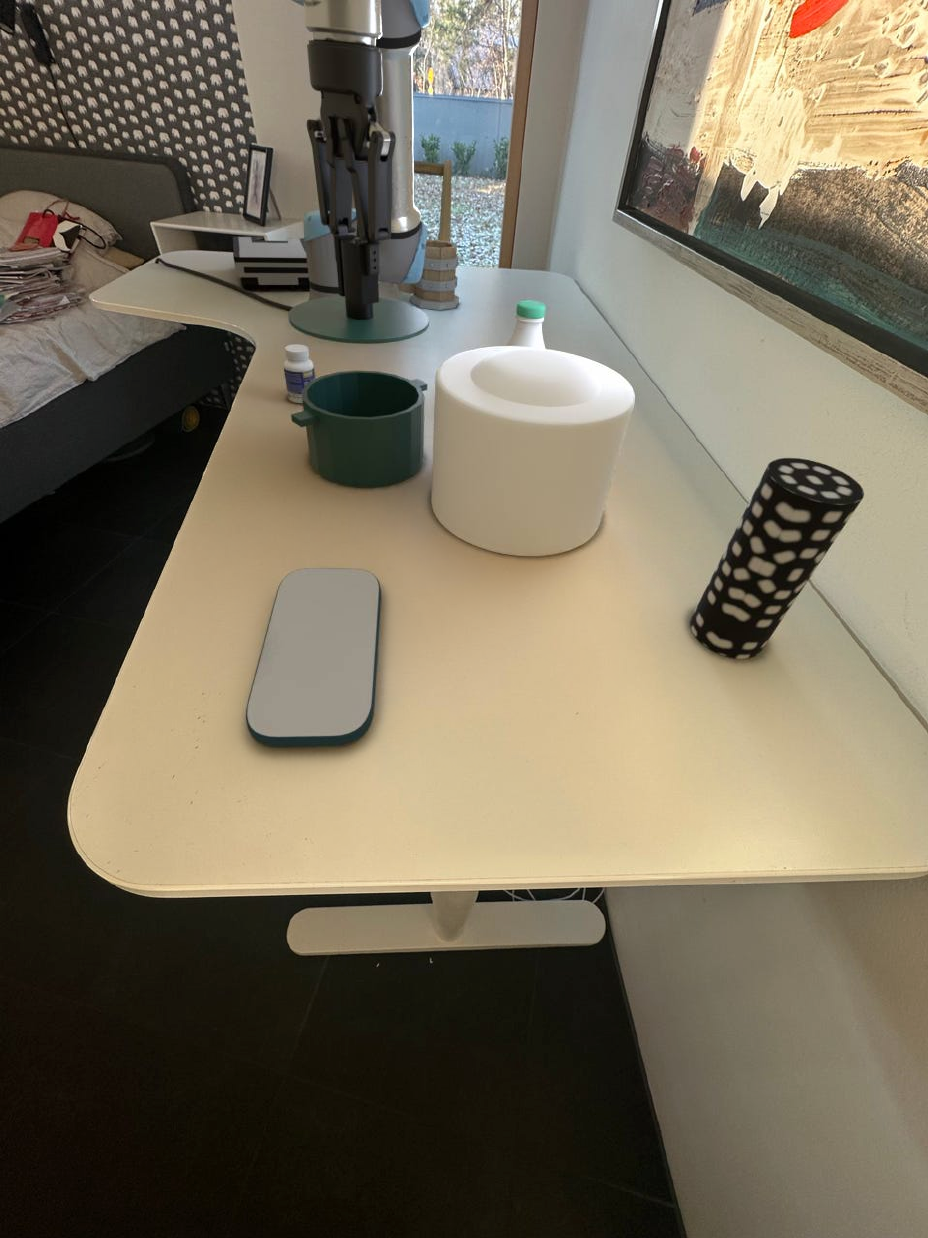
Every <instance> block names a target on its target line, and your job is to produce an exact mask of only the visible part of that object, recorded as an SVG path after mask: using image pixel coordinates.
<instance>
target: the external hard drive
mask: <svg viewBox="0 0 928 1238" xmlns="http://www.w3.org/2000/svg"><path fill="white" fill-rule="evenodd" d="M381 604H382V588H381V585H380V581H379V580H378V577H377V576H376V575H375V574H374V573H372V572H371V571H369V570H366V569H361V568H350V567H349V568H343V567H342V568H341V567H340V568H339V567H332V568H331V567H306V568H305V567H304V568H299V569H296V570H293V571H291V572H289V573H288V574H286V575H285V576H284V577H283V579H282V580H281V581H280V583H279V585H278V588H277V590H276V594H275V598H274V602H273V605H272V609H271V613H270V617H269V620H268V623H267V628H266V631H265V635H264V640H263V643H262V647H261V650H260V653H259V657H258V661H257V665H256V669H255V674H254V677H253V681H252V684H251V689H250V692H249V696H248V700H247V703H246V708H245V722H246V727H247V730H248V732H249V734H250V736H251V737H252V739H253V740H255V741H256V742H257V743H259V744H261V745H263V746H267V747H270V748H315V747H316V748H318V747H320V748H321V747H323V748H324V747H342V746H347V745H350V744H352V743H354V742H355V743H356V742H357V741H358V740H360V739H361V738H362V737H364V735H365V734H366V733H367V732H368V730H369V728H370V727H371V725H372V722H373V719H374V713H375V706H376V690H377V689H376V688H377V672H378V657H379V640H380V638H379V637H380V621H381V608H382V607H381V606H382V605H381Z"/></svg>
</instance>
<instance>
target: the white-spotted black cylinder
mask: <svg viewBox="0 0 928 1238" xmlns="http://www.w3.org/2000/svg"><path fill="white" fill-rule="evenodd" d="M864 496H865V491H864V489H863V487H862V486H861V484H859V482H858V481H857V480H856V479H855V478H853V477H852V476H850V475H848V474H847V473H845V472H843V471H842V470H840V469H838V468H835V467H833V466H830V465H828V464H825V463H822V462H819V461H815V460H811V459H805V458H798V457H781V458H777V459H774V460H772V461H770V462H769V463H768V465H767V466H766V468H765V470H764V472H763V474H762V476H761V478H760V480H759V482H758V484H757V486H756V488H755V490H754V492H753V494H752V496H751V498H750V499H749V502H748V504H747V505H746V508H745V509H744V512H743V514H742V516H741V518H740V520H739V522H738V524H737V526H736V528H735V530H734V532H733V534H732V536H731V537H730V540H729V541H728V544H727V545H726V548H725V549H724V552H723V554H722V555H721V557H720V560H719V562H718V563H717V566H716V568H715V569H714V571H713V574H712V576H711V577H710V579H709V582H708V583H707V586H706V587H705V589H704V592H703V593H702V595H701V598H700V600H699V601H698V603H697V605H696V607H695V610H694V611H693V613H692V616H691V617H690V621H689V626H690V630H691V632H692V634H693V635H694V637H695V638H696V639H697V640H698V641H699V642H700V643H701V644H702V645H703V646H704V647H705V648H707V649H709V650H711V651H712V652H714V653H716V654H718V655H720V656H723V657H726V658H732V659H738V660H740V659H741V660H743V659H750V658H754V657H756V656H758V655H760V653H761V652H762V651H763V649H764V648H765V646H766V645H767V643H768V642H769V640H770V639H771V637H772V635H774V632H775V631H776V630H777V628H778V626H779V625H780V623H781V622H782V620H783V619H784V618H785V616H786V615H787V613H788V611H789V610H790V609H791V607H792V605H794V603H795V601H796V600H797V598H798V596H799V595H800V593H801V592H802V591H803V589H804V588H805V586H806V585H807V583H808V582H809V580H810V578H812V575H813V574H814V572H815V571H816V569H817V568H818V566H819V565H820V564H821V562H822V560H823V559H824V557H825V556H826V555H827V553H828V552H829V550H830V548H831V547H832V546H833V544H834V543H835V541H836V540H837V538H838V537H839V535H840V534H841V532H842V530H843V529H844V527H846V524H847V523H848V521H849V520H850V518H851V517H852V516H853V514H854V513H855V511H856V509H857V508H858V507H859V505H860V503H861V502H862V500H863V499H864Z"/></svg>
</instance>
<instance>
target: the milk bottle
mask: <svg viewBox="0 0 928 1238" xmlns="http://www.w3.org/2000/svg"><path fill="white" fill-rule="evenodd" d="M515 310H516V312H515V319H516V323H515V326H514V328H513V331H512V333H511V334H510V337H509V339H508V340H507V342H506V344H505V346H520V347H534V348H543V349H546V346H545V345H546V344H545V341H544V336H543V322H544V321H545V315H546V310H547V306H546V304H544V303H543V302H540V301H537V300H529V299H528V300H520V301H518V302H517V304H516V309H515Z"/></svg>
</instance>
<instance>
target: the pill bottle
mask: <svg viewBox="0 0 928 1238" xmlns="http://www.w3.org/2000/svg"><path fill="white" fill-rule="evenodd" d="M284 353H285V358H286V359H285V360H284V362H283V372H284V379H285V386H286V392H287V393H286V394H287V398H288V400H289V401H291V403H294V404H303V402H302V393H301V391H302V389H303V388H304V387H305V386H306V385H307V383H309V382H310V381H312V380H314V379H316V373H315V364H314V362H313V361H312V360H311V359H310V358H309V357H310V351H309V347H308V346H306V345H305V344H304V345H303V344H298V343H297V344H296V343H295V344H288V345H287V346H285V347H284Z"/></svg>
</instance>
